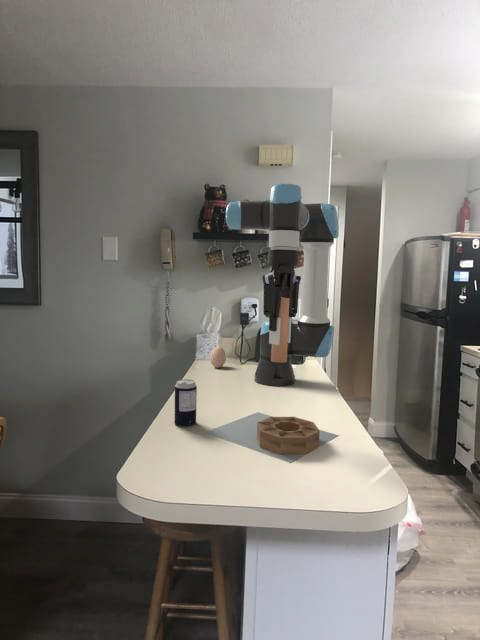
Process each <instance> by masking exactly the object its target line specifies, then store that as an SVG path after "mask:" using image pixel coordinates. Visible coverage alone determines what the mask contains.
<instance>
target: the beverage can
mask: <svg viewBox="0 0 480 640" xmlns="http://www.w3.org/2000/svg"><path fill="white" fill-rule="evenodd" d="M197 389H198V386H197V384H196V381H195V380H194V379H189V378H188V379H179V380H176V384H175V385H174V424H175V425H176V426H177V427H179V428H189V427H193V426H195V425H196V423H197V395H198V393H197V391H198V390H197Z"/></svg>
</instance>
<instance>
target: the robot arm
mask: <svg viewBox="0 0 480 640" xmlns="http://www.w3.org/2000/svg"><path fill="white" fill-rule="evenodd" d="M302 198H303V196H302V188H301V186H299V185H298V184H295V183H294V184H293V183H277V184H275V185H273V186H272V187H271V189H270V194H269V200H261V201H259V200H258V201H256V200H254V201H253V200H252V201H248V200H247V201H246V200H245V201H241V200H238V201H231V202H229V203H228V204H227V206H226V209H225V221H226V225H227V228H229V229H230V230H238V231H240V230H241V231H242V230H248V231H249V230H254V231H265V232H267V233H269V234H268V247H269V248H270V249H269V250H268V251H267V264H268V265H269V266H270V270H269V273H268V274H262V278H261V279H262V282H263V315H264V316H265V317H266V318H268V320H265V321H264V322H263V321H262V324H261V327H260V334H259V336H260V338H259V339H260V340H259V341H260V342H259V343H260V344H259V361H258V364H257V366H256V370H255V373H254V381H255V382H256V383H258V384H261V385H265V386H273V387H275V386H277V387H279V386H281V387H283V386H290V385H293V384H295V383H296V382H295V381H296V380H295V379H296V376H295V375H296V374H295V371H294V368H293V364H292V356H298V357H299V356H301V357H311V358H314V359H315V358H316V359H317V358H327V357H328V356H329V355H330V353H331V349H332V345H333V341H334V333H335V326H333V325H332V324H331V320H330V318H328V317H327V306H328V305H327V304H328V284H329V283H328V282H329V281H328V279H329V261H330V260H329V256H330V255H329V254H330V248H331V247H332V246H333V245H334V244H335V243H334V242H335V239H338V238H339V235H340V234H339V233H340V231H339V230H340V229H339V225H340V224H339V216H338V211H337V207H336V206H335V205H334V204H332V203H322V202H321V203H303V202H302ZM300 244H301V246H302V247H303V251H304V252H303V274H302V276H303V279H302V276H301V275H296V271H295V267H297V266H298V265H299V258H300V257H299V250H297V249H299V248H300ZM301 280H302V304H301V305H302V310H301V311H302V312H301V316H300V317H299V318H298V319H297V323H294V321H293V318H295V317H296V315H297V314H298V308H299V293H300V292H299V291H300V284H301ZM281 298H290V299H289V323H288V346H287V362H283V363H278V362H272V361H271V349H272V344H275V345H280V322H281V318H278V316H279V310H280V304H281Z"/></svg>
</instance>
